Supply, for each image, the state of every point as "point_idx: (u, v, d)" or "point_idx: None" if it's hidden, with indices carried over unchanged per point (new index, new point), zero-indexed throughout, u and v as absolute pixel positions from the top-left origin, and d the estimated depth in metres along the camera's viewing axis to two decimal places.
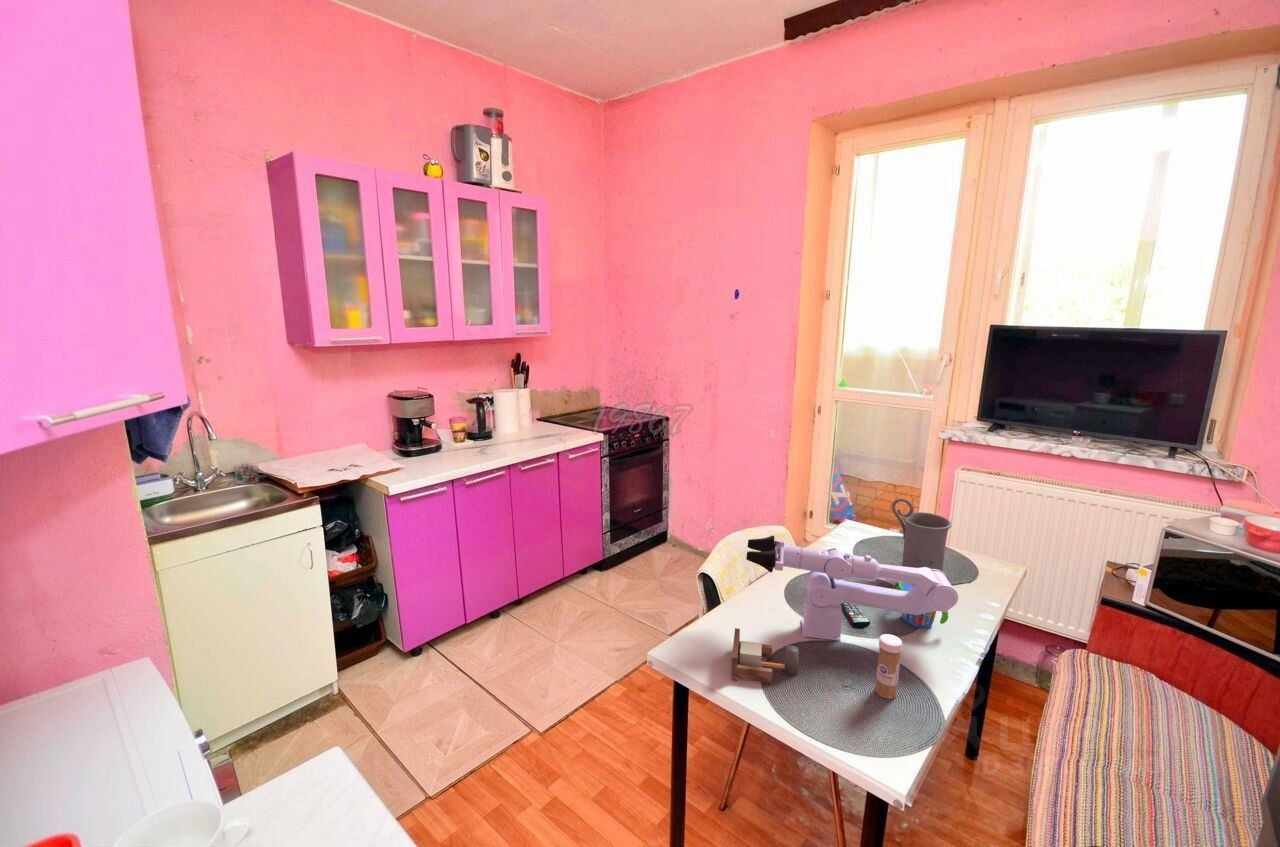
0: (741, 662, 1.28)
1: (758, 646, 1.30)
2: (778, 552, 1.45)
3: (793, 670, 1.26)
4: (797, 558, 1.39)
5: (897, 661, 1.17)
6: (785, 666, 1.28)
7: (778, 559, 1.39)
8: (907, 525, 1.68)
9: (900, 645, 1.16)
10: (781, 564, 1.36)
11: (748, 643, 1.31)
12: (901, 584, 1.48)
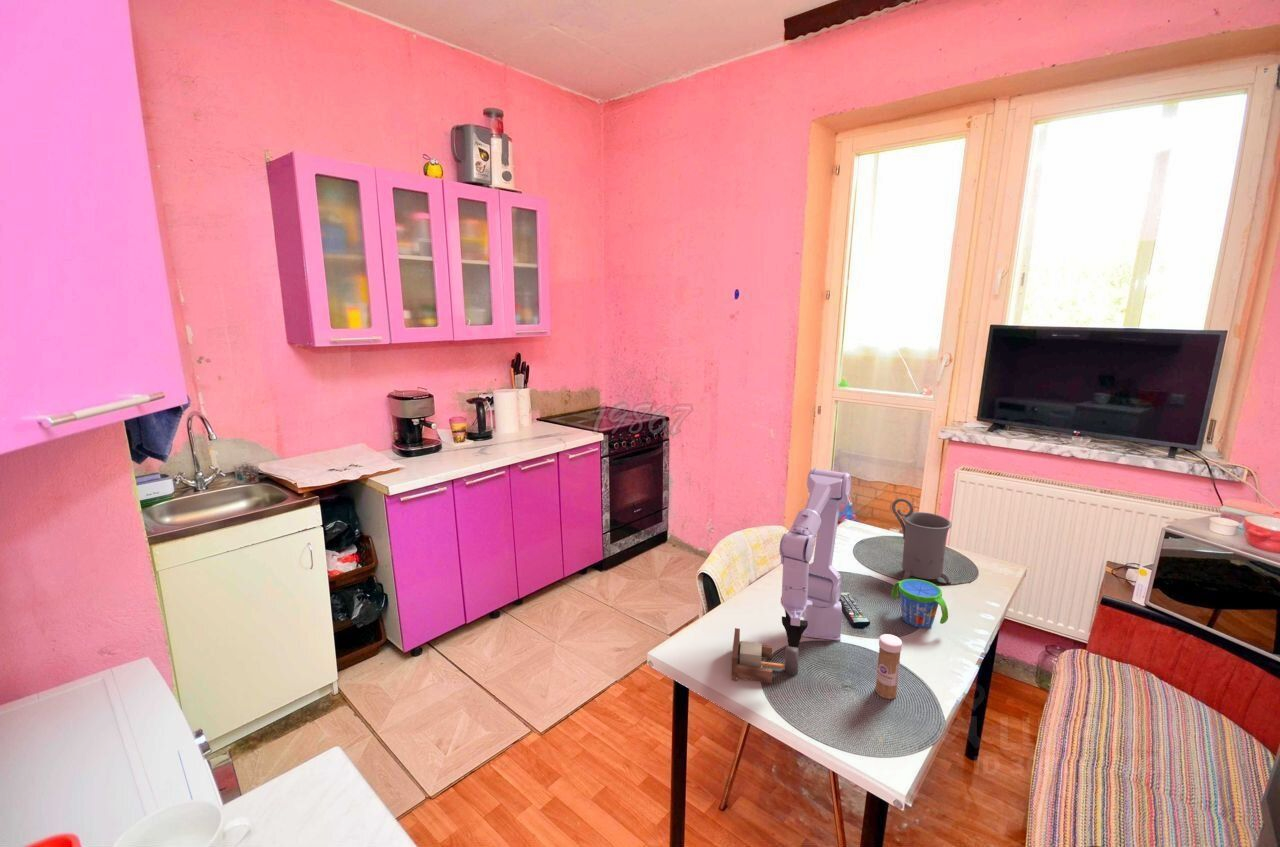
0: (741, 662, 1.28)
1: (758, 646, 1.30)
2: None
3: (793, 670, 1.26)
4: None
5: (897, 661, 1.17)
6: (785, 666, 1.28)
7: None
8: (907, 525, 1.68)
9: (900, 645, 1.16)
10: None
11: (748, 643, 1.31)
12: (901, 584, 1.48)
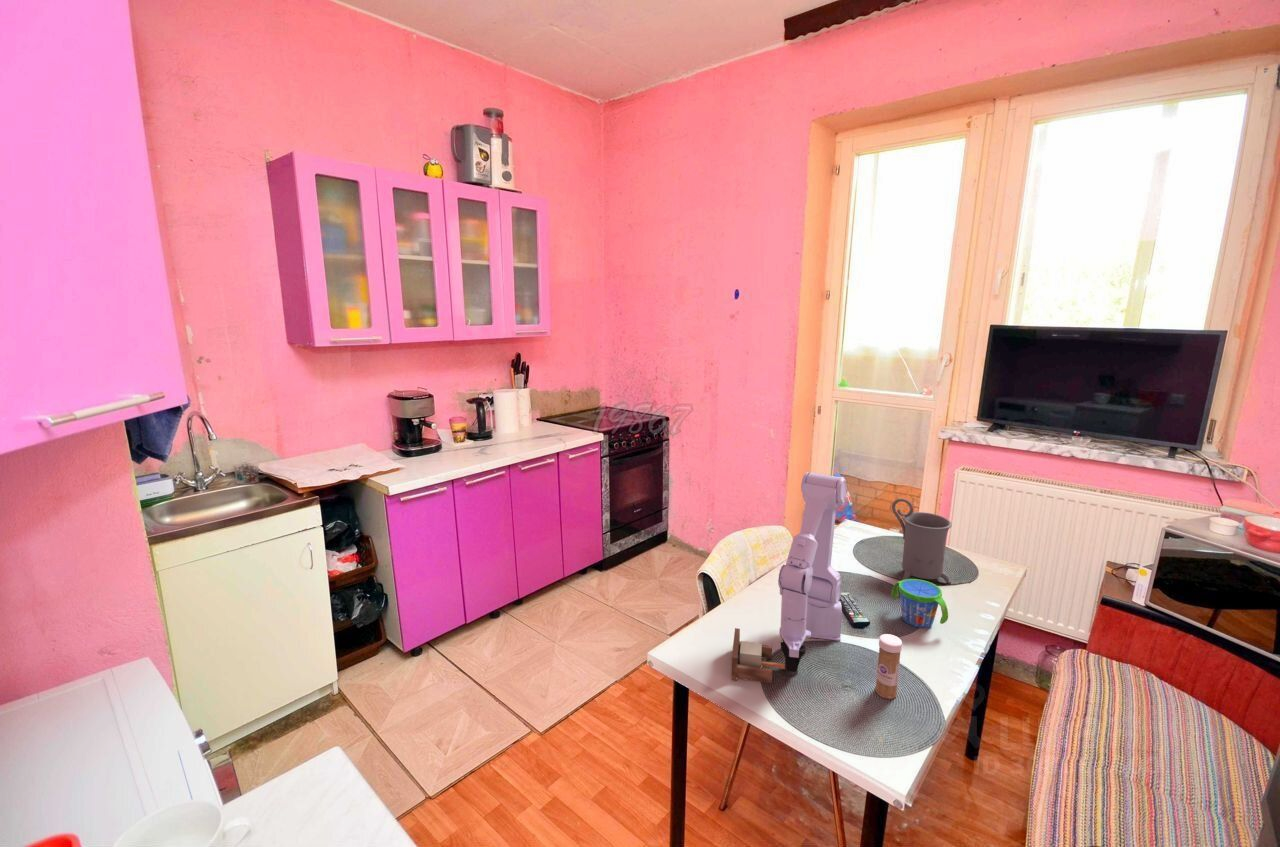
0: (741, 662, 1.28)
1: (758, 646, 1.30)
2: None
3: None
4: None
5: (897, 661, 1.17)
6: (785, 666, 1.28)
7: None
8: (907, 525, 1.68)
9: (900, 645, 1.16)
10: None
11: (748, 643, 1.31)
12: (901, 584, 1.48)
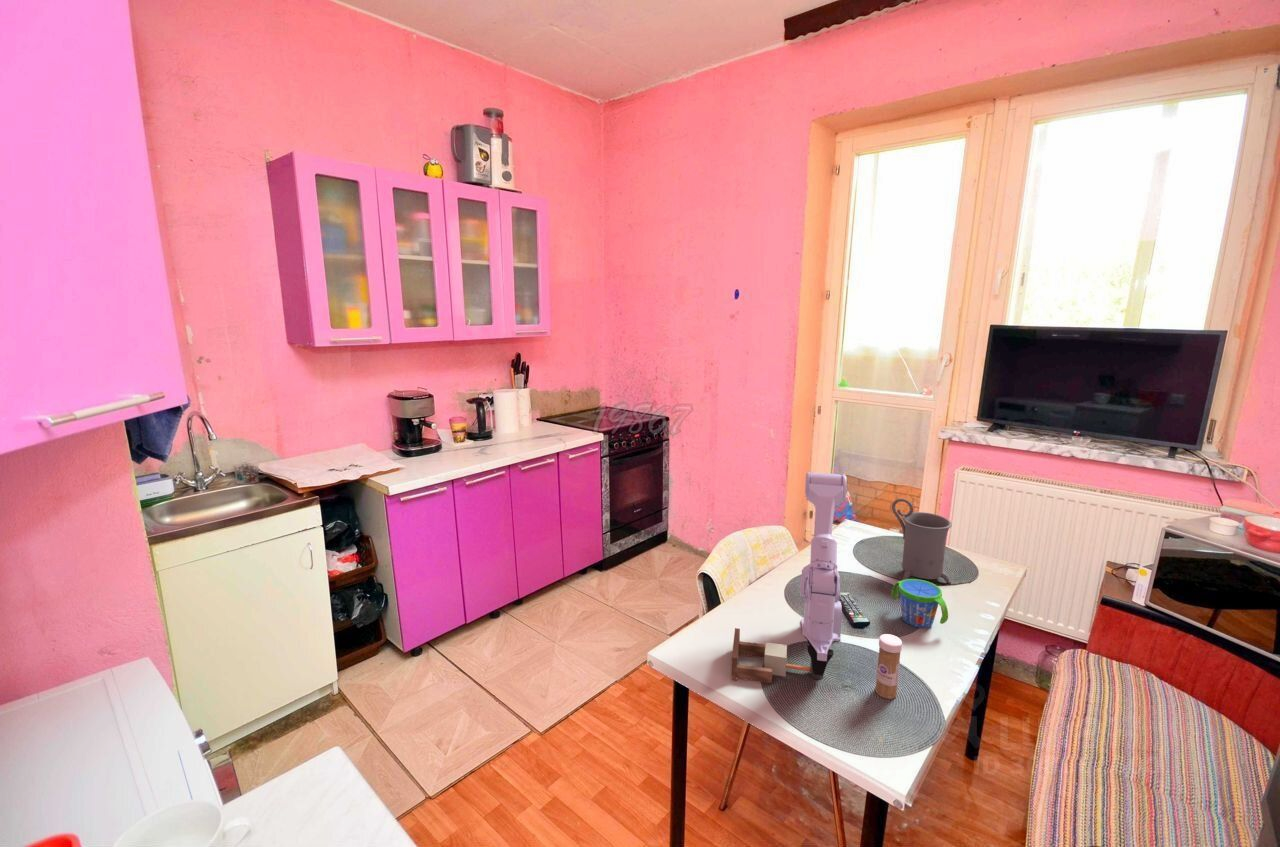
0: (766, 664, 1.27)
1: (783, 648, 1.29)
2: None
3: None
4: None
5: (897, 661, 1.17)
6: (810, 669, 1.26)
7: None
8: (907, 525, 1.68)
9: (900, 645, 1.16)
10: None
11: (773, 645, 1.30)
12: (901, 584, 1.48)
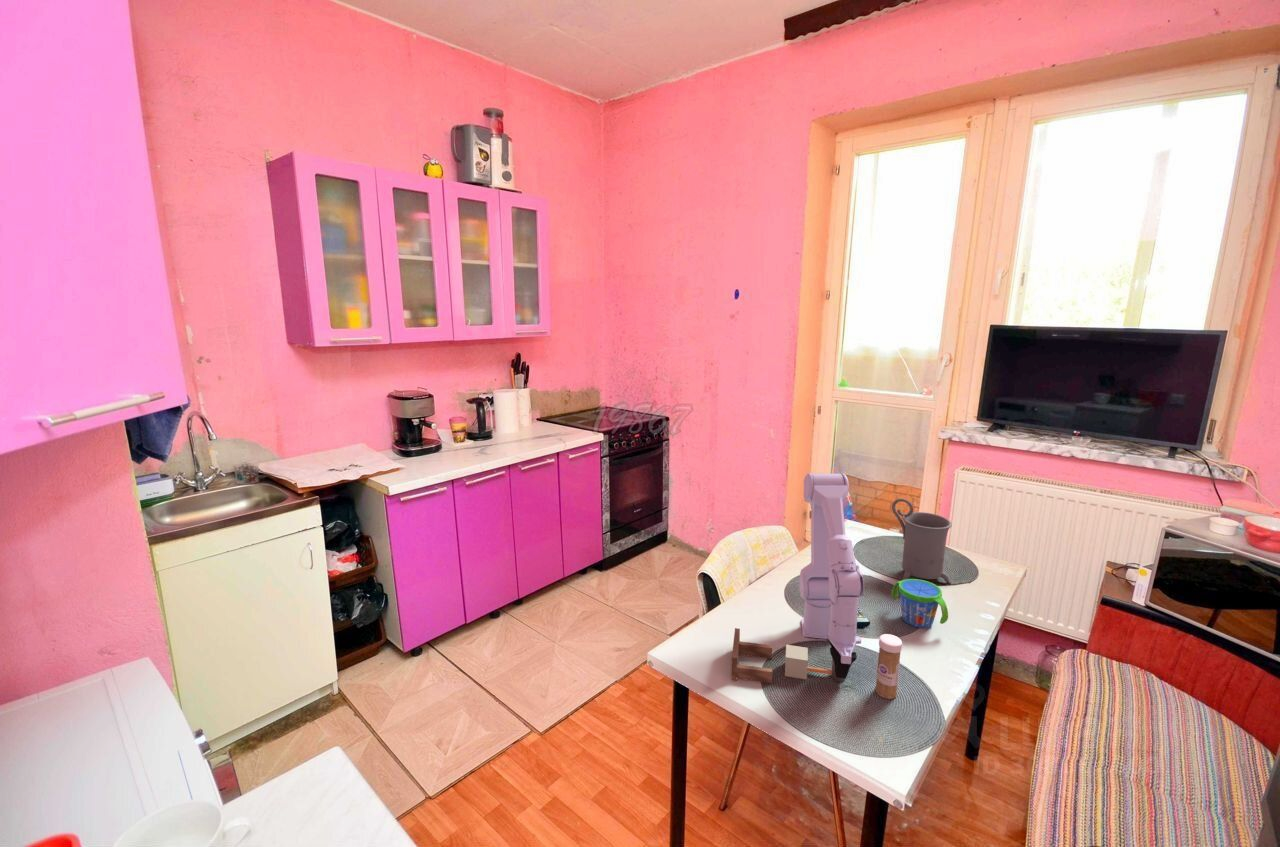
0: (787, 666, 1.26)
1: (804, 651, 1.28)
2: None
3: None
4: None
5: (897, 661, 1.17)
6: (832, 672, 1.25)
7: None
8: (907, 525, 1.68)
9: (900, 645, 1.16)
10: None
11: (794, 647, 1.29)
12: (901, 584, 1.48)
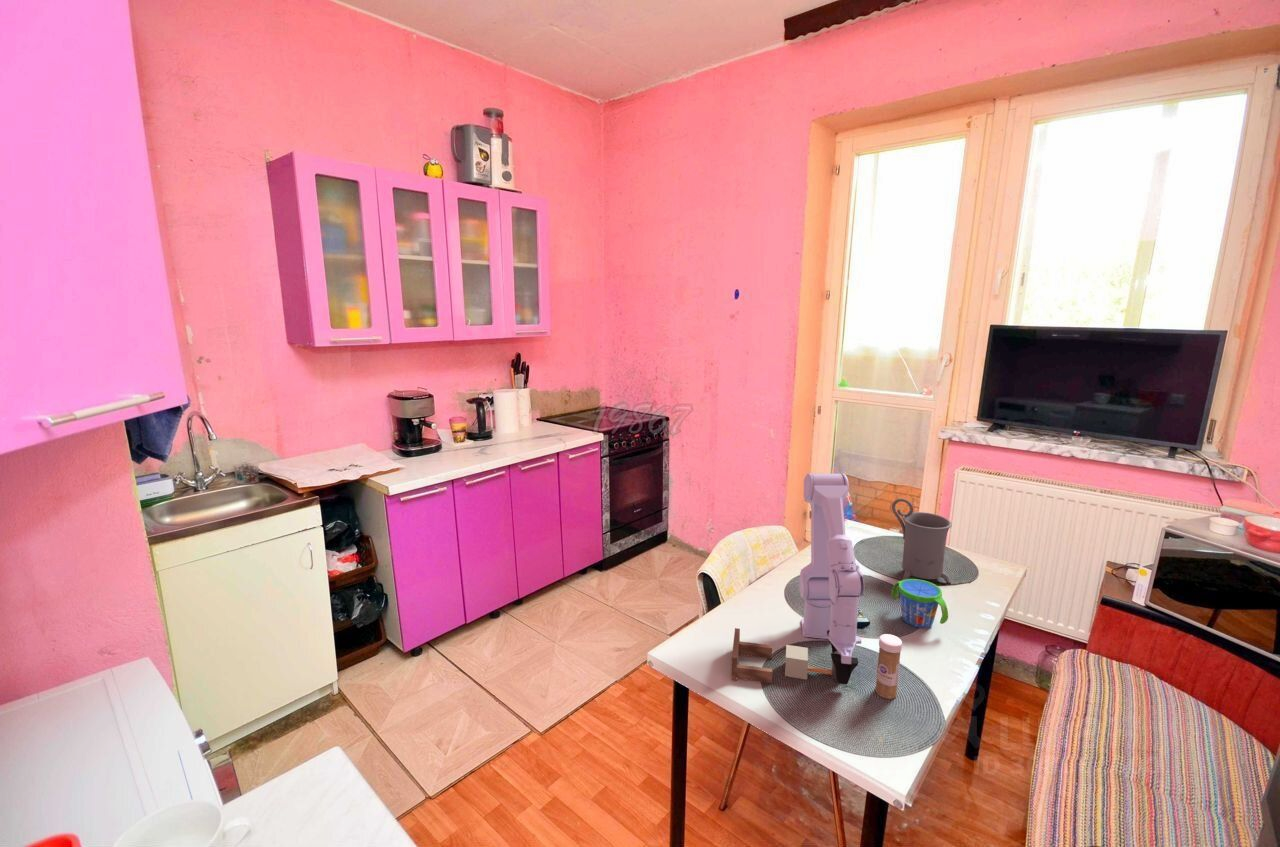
0: (787, 666, 1.26)
1: (804, 651, 1.28)
2: None
3: None
4: None
5: (897, 661, 1.17)
6: (832, 672, 1.25)
7: None
8: (907, 525, 1.68)
9: (900, 645, 1.16)
10: None
11: (794, 647, 1.29)
12: (901, 584, 1.48)
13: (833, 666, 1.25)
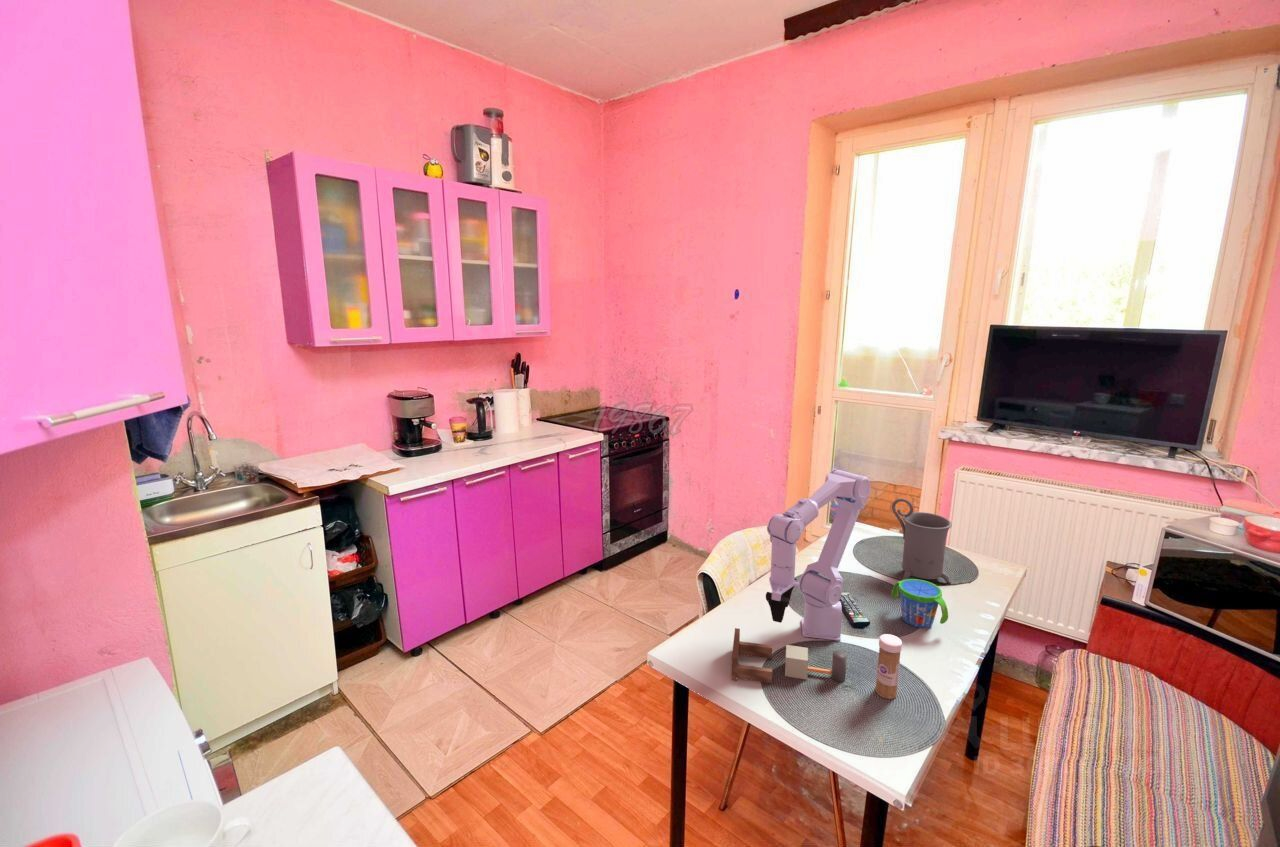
0: (787, 666, 1.26)
1: (804, 651, 1.28)
2: None
3: (840, 676, 1.24)
4: None
5: (897, 661, 1.17)
6: (832, 672, 1.25)
7: None
8: (907, 525, 1.68)
9: (900, 645, 1.16)
10: None
11: (794, 647, 1.29)
12: (901, 584, 1.48)
13: (833, 666, 1.25)
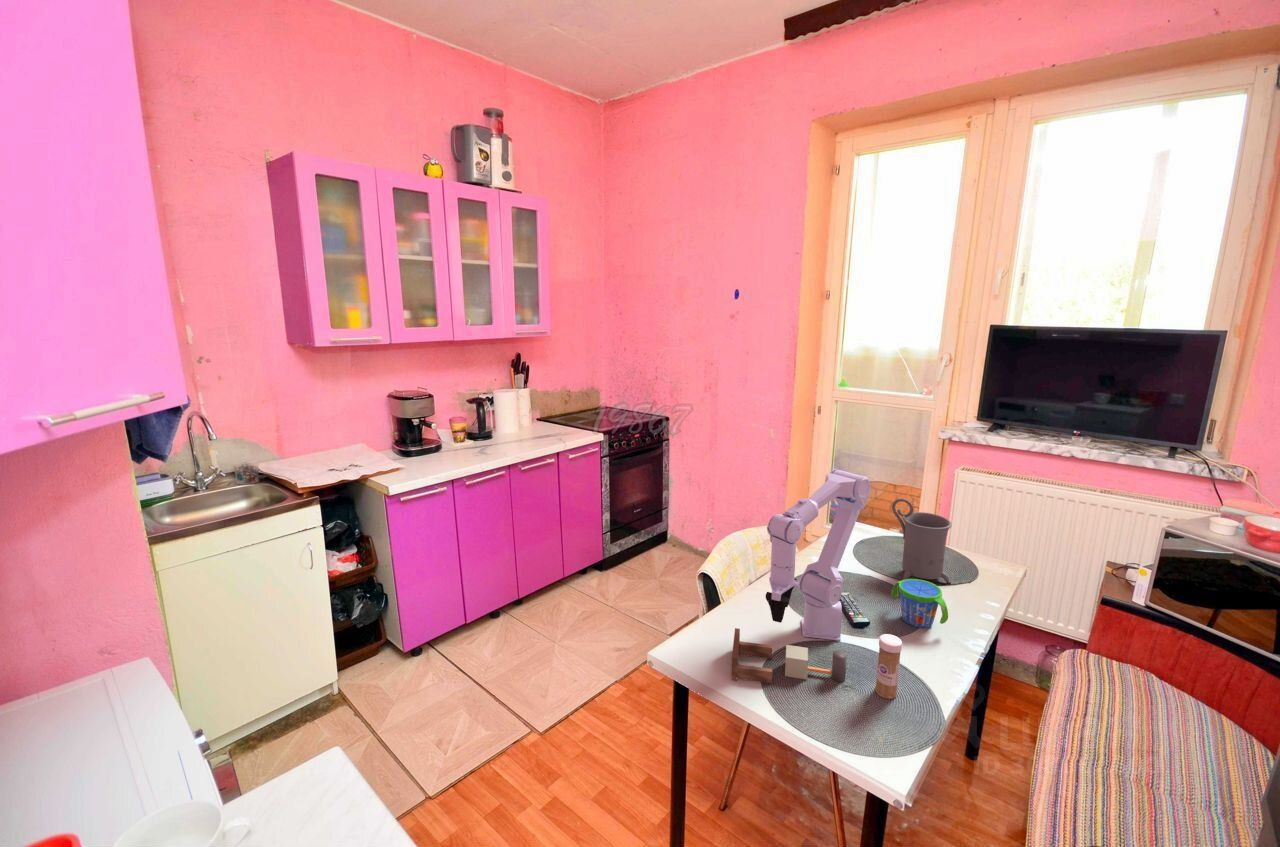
0: (787, 666, 1.26)
1: (804, 651, 1.28)
2: None
3: (840, 676, 1.24)
4: None
5: (897, 661, 1.17)
6: (832, 672, 1.25)
7: None
8: (907, 525, 1.68)
9: (900, 645, 1.16)
10: None
11: (794, 647, 1.29)
12: (901, 584, 1.48)
13: (833, 666, 1.25)
